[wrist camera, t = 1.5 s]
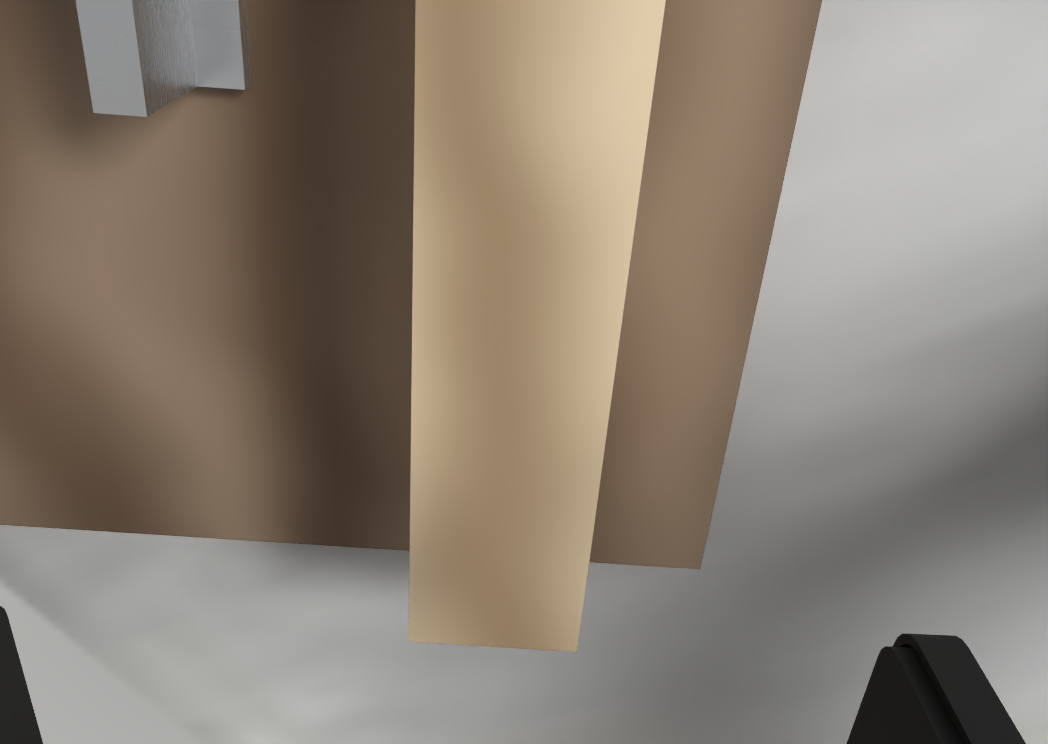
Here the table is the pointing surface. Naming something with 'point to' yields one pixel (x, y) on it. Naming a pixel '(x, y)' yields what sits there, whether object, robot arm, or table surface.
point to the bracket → (161, 51)
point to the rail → (518, 302)
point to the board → (343, 281)
